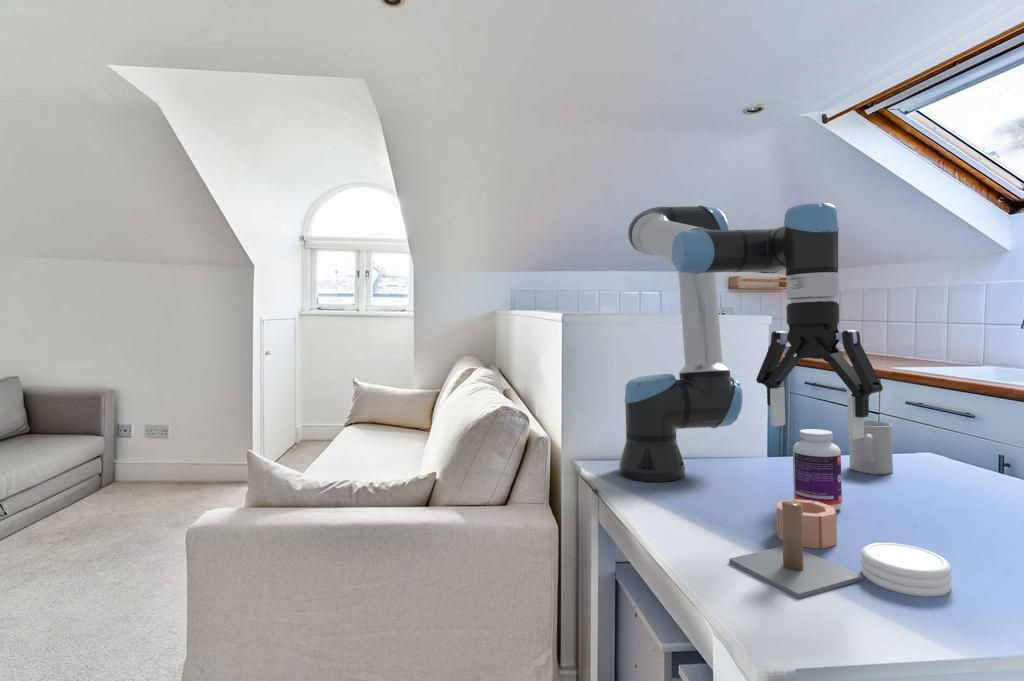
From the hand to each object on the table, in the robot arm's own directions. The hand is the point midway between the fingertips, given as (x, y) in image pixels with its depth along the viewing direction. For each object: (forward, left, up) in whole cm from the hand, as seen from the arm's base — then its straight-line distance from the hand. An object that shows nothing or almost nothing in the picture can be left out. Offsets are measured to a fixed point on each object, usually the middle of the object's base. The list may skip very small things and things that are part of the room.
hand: (814, 431), depth 90 cm
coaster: (+16, -2, -18) cm, 24 cm away
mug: (-23, +45, -18) cm, 54 cm away
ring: (-1, -2, -17) cm, 17 cm away
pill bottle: (-11, +13, -18) cm, 24 cm away
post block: (+7, -14, -17) cm, 23 cm away
